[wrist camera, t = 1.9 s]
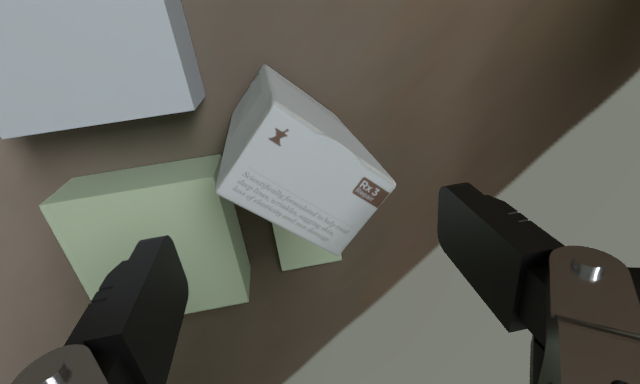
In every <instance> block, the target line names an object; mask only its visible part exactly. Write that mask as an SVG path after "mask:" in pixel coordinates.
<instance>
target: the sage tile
mask: <svg viewBox="0 0 640 384" xmlns="http://www.w3.org/2000/svg"><path fill="white" fill-rule="evenodd" d="M272 226H273V230H274V235H275V240H276V245H277V249H278V254H279V259H280V263H281V268H282V271H286V270H291V269H296V268H302V267H307V266H312V265H318V264H323V263H329V262H334V261H339V260H342V257H341V254H340V255H339V256H336V255H334V254H332V253H330V252H329V251H327V250H325V249H323V248H321V247H319V246H317V245H315V244H313V243H311V242H309V241H307V240H305V239H303V238H301V237H299V236H297V235H295V234H294V233H292V232H290V231H288V230H286V229H284V228H282V227H280V226H278V225H276V224H274V223H272Z"/></svg>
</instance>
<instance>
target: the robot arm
mask: <svg viewBox="0 0 640 384" xmlns="http://www.w3.org/2000/svg"><path fill="white" fill-rule="evenodd" d="M438 238H439V242H440V245H441V247H442V249H443V250H444V252H445V253H446V254H447V256H448V257H449V258H450V259H451V261H452V262H453V263H454V264H455V266H456V267H457V268H458V269H459V270H460V272H461V273H462V274H463V276H464V277H465V278H466V279H467V281H468V282H469V283H470V284H471V286H472V287H473V288H474V289H475V291H476V292H477V293H478V294H479V296H480V297H481V298H482V299H483V301H484V302H485V303H486V304H487V306H488V307H489V308H490V309H491V311H492V312H493V313H494V314H495V316H496V317H497V318H498V320H499V321H500V322H501V323H502V324H503V326H504V327H505V328H506V330H507V331H508V332H514V331H518V330H523V329H528V330H529V331H530V332H531V333H532V334H533V336H532V341H531V352H530V384H640V268H628V267H626V266H625V265H624V264H623V263H622V262H621V261H620V260H618V259H617V258H615V257H613V256H612V255H610V254H607V253H605V252H603V251H600V250H597V249H593V248H589V247H583V246H564V245H563V244H561V243H560V242H559V241H557V240H556V239H554V238H553V237H552V236H550V235H549V234H548V233H546V232H545V231H544V230H542V229H541V228H540V227H538V226H537V225H536V224H534V223H533V222H532V221H528V219H527V218H526V217H525V216H524V215H522V214H521V213H518V212H517V210H515V209H514V208H512V207H511V206H510V205H509V204H507V203H506V202H504V201H501V200H499V199H497V198H494V197H491V196H489V195H484V194H482V193H481V192H480V191H479V190H477V189H476V188H475V187H473V186H472V185H471V184H469V183H460V184H455V185H449V186H444V187H442V188H441V189H440V191H439V203H438ZM188 296H189V289H188V282H187V278H186V275H185V272H184V269H183V267H182V264H181V261H180V259H179V256H178V253H177V250H176V248H175V245H174V242H173V240H172V239H171V237H170V236H168V235H166V236H160V237H155V238H149V239H144V240H140V241H139V242H138V243H137V245H136V247H135V249H134V250H133V252H132V254H131V256H130V258H129V259H128V260H125V261H122V262H121V263H120V264H118V265H117V266H116V267H115V268H114V269H113V270H112V271H111V272H110V273H108V274H107V276H106V277H105V279H104V281H103V282H102V284H101V286H100V287H99V291H98V292H96V294H95V295H94V297H93V299H92V300H91V302H92V303H91V304H89V305H88V307H87V309H86V310H85V312H84V313H83V315H82V317H81V318H80V320H79V322H78V323H77V325H76V327H75V328H74V330H73V332H72V333H71V335H70V336H69V338H68V340H67V341H66V343H65V345H64V346H63V347H60V348H57V349H55V350H53V351H50V352H48V353H46V354H45V355H43V356H41V357H40V358H38V359H36V360H35V361H34V362H32V363H31V364H30V365H28V366H27V367H26V368H25V369H24V370H23V371H22V372H21V373H20V374H19V375H18V376H17V377H16V378H15V379H14V381H13V382H12V383H11V384H166V381H167V378H168V374H169V370H170V366H171V362H172V359H173V355H174V351H175V347H176V343H177V339H178V336H179V332H180V328H181V324H182V320H183V317H184V313H185V309H186V305H187V301H188Z"/></svg>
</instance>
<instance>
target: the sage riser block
mask: <svg viewBox="0 0 640 384" xmlns="http://www.w3.org/2000/svg"><path fill="white" fill-rule="evenodd" d="M221 160H222V156H221V154H218V155H211V156H205V157H199V158H193V159H186V160H180V161H174V162H168V163H161V164H155V165H149V166H143V167H136V168H130V169H124V170H118V171H111V172H105V173H99V174H93V175H86V176H80V177H74V178H71V179H70V180H69V181H68V182H67V183H65V184H64V185H63V186H62V187H61V188H59V189H58V190H57V191H56V192H54V193H53V194H52V195H51V196H50V197H48V198H47V199H46V200H45V201H43V202H42V203H41V204H40V205H39V207H40V209H41V211H42V213H43V214H44V216H45V218H46V220H47V222H48V224H49V225H50V227H51V229H52V231H53V233H54V234H55V236H56V238H57V240H58V242H59V243H60V245H61V247H62V249H63V251H64V253H65V254H66V256H67V258H68V260H69V262H70V263H71V265H72V267H73V269H74V271H75V272H76V274H77V276H78V278H79V280H80V282H81V283H82V285H83V287H84V289H85V291H86V292H87V294H88V296H89V298H90V300H92V299H93V297H94V295H95V294H96V292H98V291H99V287H100V286H101V284H102V282H103V281H104V279H105V277H106V276H107V274H108V273H110V272H111V271H112V270H113V269H114V268H115V267H116V266H117V265H118V264H120V263H121V262H122V261H125V260H128V259H129V258H130V256H131V254H132V252H133V250H134V249H135V247H136V245H137V243H138V242H139V241H140V240H144V239H149V238H155V237H160V236H166V235H168V236H170V237H171V239H172V240H173V242H174V245H175V248H176V250H177V253H178V256H179V259H180V261H181V264H182V267H183V269H184V272H185V275H186V278H187V282H188V289H189V296H188V301H187V305H186V309H185V313H184V314H188V313H193V312H199V311H204V310H209V309H214V308H220V307H225V306H230V305H235V304H241V303H246V302H249V289H250V272H251V266H250V263H249V259H248V255H247V251H246V247H245V244H244V240H243V236H242V232H241V228H240V225H239V221H238V217H237V213H236V209H235V205H234V203H233V202H231V201H229V200H227V199H225V198H223V197H221V196H219V195H217V194H216V193H215V186H216V182H217V178H218V174H219V172H220V165H221Z"/></svg>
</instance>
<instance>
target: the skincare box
mask: <svg viewBox="0 0 640 384" xmlns="http://www.w3.org/2000/svg"><path fill="white" fill-rule="evenodd" d="M395 187H396V183H395V181H394V180H393V179H392V178H391V176H390V175H389V174H388V173H387V172H386V171H385V170H384V168H383V167H382V166H381V165H380V164H379V163H378V162H377V161H376V159H375V158H374V157H373V156H372V155H371V154H370V153H369V152H368V151H367V150H366V148H365V147H364V146H363V145H362V144H361V143H360V142H359V141H358V140H357V139H356V138H355V136H354V135H353V134H352V133H351V132H350V131H349V130H348V129H347V128H346V127H345V125H344V124H343V123H342V122H341V121H340V120H339V119H338V118H337V117H336V116H335V115H334V114H333V113H332V112H331V111H329V110H328V109H326V108H325V107H324V106H322V105H321V104H320V103H318V102H317V101H316V100H314V99H313V98H312V97H310V96H309V95H308V94H306V93H305V92H303V91H302V90H301V89H299V88H298V87H297V86H295V85H294V84H292V83H291V82H290V81H288V80H287V79H285V78H284V77H283V76H281V75H280V74H278V73H277V72H276V71H274V70H273V69H272V68H270V67H269V66H267V65H263V66H262V67H261V69H260V71H259V72H258V74H257V75H256V77H255V78H254V80H253V81H252V83H251V84H250V86H249V88H248V89H247V91H246V92H245V94H244V95H243V97H242V99H241V100H240V102H239V103H238V105H237V107H236V108H235V110H234V112H233V113H232V117H231V123H230V126H229V131H228V135H227V139H226V143H225V148H224V152H223V156H222V160H221V165H220V172H219V174H218V178H217V182H216V186H215V193H216V194H217V195H219V196H221V197H223V198H225V199H227V200H229V201H231V202H233V203H235V204H237V205H239V206H241V207H243V208H245V209H247V210H248V211H250V212H252V213H254V214H256V215H258V216H260V217H262V218H264V219H266V220H268V221H270V222H272V223H274V224H276V225H278V226H280V227H282V228H284V229H286V230H288V231H290V232H292V233H294V234H295V235H297V236H299V237H301V238H303V239H305V240H307V241H309V242H311V243H313V244H315V245H317V246H319V247H321V248H323V249H325V250H327V251H329V252H330V253H332V254H334V255H336V256H339V255H340V254H341V252H342V251H343V250H344V248H345V247H346V246H347V245H348V244H349V242H350V241H351V240H352V239H353V238H354V237H355V235H356V234H357V233H358V232H359V231H360V229H361V228H362V227H363V226H364V224H365V223H366V222H367V221H368V220H369V218H370V217H371V216H372V215H373V214H374V212H375V211H376V210H377V209H378V207H379V206H380V205H381V204H382V203H383V202H384V200H385V199H386V198H387V197H388V196H389V194H390V193H391V192H392V191H393V190H394V189H395Z"/></svg>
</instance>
